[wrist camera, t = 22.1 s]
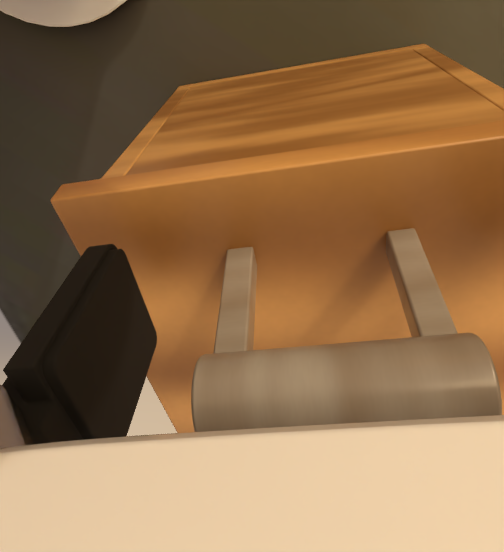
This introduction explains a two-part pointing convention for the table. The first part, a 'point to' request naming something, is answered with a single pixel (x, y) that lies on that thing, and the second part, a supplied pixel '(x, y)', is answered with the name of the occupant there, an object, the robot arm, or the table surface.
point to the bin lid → (317, 279)
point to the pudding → (59, 11)
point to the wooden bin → (312, 109)
